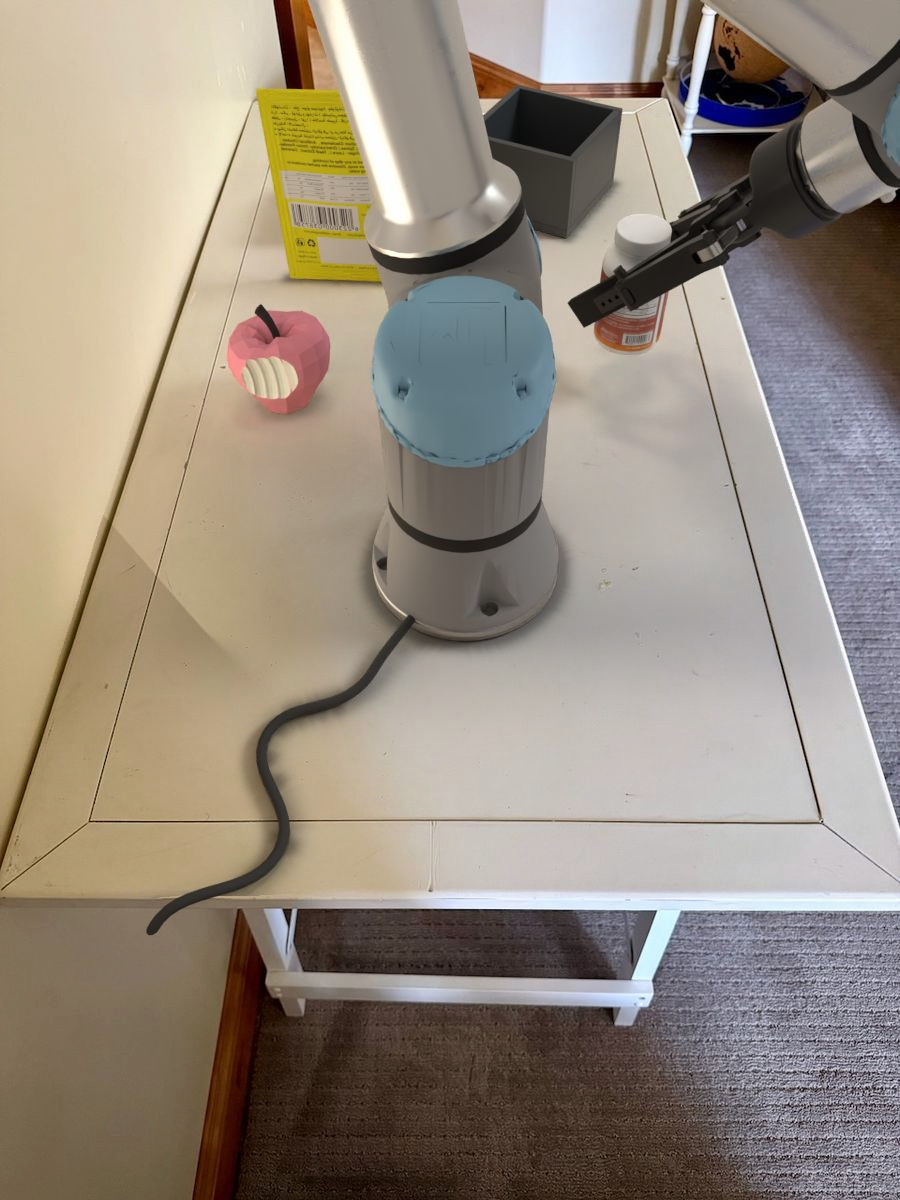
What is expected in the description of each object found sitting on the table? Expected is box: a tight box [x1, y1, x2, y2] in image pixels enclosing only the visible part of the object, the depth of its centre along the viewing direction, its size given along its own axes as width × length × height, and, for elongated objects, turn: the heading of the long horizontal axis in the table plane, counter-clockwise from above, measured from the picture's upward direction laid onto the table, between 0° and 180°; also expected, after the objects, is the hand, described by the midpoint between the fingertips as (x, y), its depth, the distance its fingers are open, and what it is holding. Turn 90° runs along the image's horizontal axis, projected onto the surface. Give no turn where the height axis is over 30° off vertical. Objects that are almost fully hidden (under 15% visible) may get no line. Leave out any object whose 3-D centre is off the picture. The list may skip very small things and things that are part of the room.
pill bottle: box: [593, 213, 672, 357], centre depth 80 cm, size 6×6×11 cm
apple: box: [226, 303, 331, 415], centre depth 83 cm, size 10×9×10 cm
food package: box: [255, 88, 382, 283], centre depth 91 cm, size 15×1×20 cm, turn 84°
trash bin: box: [483, 84, 624, 239], centre depth 106 cm, size 14×14×9 cm
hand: (595, 294), depth 83 cm, fingers closed on pill bottle, 6 cm apart
